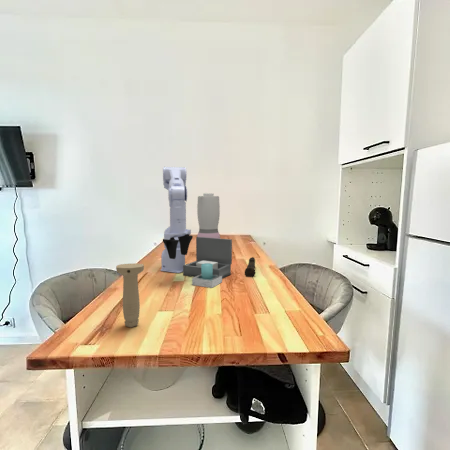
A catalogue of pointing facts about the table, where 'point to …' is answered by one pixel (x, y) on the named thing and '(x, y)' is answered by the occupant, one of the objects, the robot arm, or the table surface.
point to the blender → (208, 215)
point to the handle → (130, 292)
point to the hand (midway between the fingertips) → (178, 256)
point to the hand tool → (250, 268)
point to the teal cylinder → (207, 271)
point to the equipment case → (211, 257)
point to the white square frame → (207, 281)
